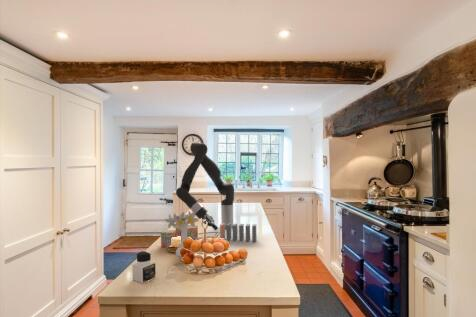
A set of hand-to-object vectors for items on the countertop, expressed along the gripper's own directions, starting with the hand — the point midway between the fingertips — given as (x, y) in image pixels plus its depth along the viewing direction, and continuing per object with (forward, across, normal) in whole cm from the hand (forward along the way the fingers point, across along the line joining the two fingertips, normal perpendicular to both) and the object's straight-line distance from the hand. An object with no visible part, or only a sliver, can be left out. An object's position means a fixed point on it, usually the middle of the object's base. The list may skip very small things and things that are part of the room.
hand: (216, 229), depth 185 cm
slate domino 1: (+10, 0, -1) cm, 10 cm away
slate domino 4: (+22, 0, -13) cm, 26 cm away
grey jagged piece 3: (+13, 0, -4) cm, 14 cm away
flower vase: (-1, -37, +10) cm, 39 cm away
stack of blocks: (-8, -18, +18) cm, 26 cm away
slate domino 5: (+19, 0, -10) cm, 22 cm away
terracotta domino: (+7, 0, +2) cm, 8 cm away
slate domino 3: (+16, 0, -7) cm, 18 cm away
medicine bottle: (-6, -63, +16) cm, 66 cm away
